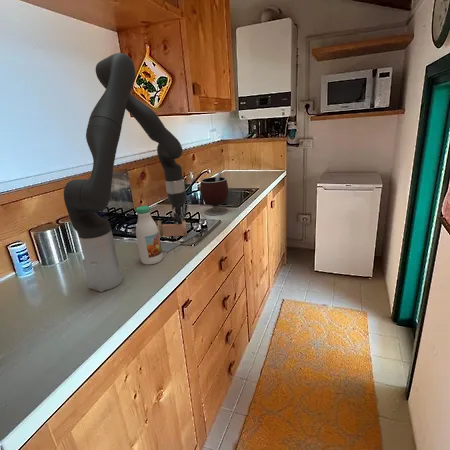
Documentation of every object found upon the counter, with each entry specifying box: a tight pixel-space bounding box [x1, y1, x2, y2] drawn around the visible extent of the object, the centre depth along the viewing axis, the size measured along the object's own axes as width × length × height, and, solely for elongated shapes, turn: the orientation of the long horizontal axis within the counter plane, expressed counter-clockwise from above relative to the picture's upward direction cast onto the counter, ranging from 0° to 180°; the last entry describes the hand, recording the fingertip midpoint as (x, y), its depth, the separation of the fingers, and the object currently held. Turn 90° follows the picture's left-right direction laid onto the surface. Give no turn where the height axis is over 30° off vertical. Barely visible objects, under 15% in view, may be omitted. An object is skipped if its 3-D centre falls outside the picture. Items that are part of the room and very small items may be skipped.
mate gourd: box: [200, 170, 229, 217], centre depth 153 cm, size 16×14×20 cm
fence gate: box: [162, 220, 187, 236], centre depth 127 cm, size 10×2×6 cm, turn 82°
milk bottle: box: [135, 205, 164, 265], centre depth 105 cm, size 8×8×20 cm
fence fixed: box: [156, 220, 163, 237], centre depth 123 cm, size 12×2×7 cm, turn 148°
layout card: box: [160, 228, 202, 254], centre depth 126 cm, size 22×16×1 cm
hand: (182, 229), depth 130 cm, fingers closed
